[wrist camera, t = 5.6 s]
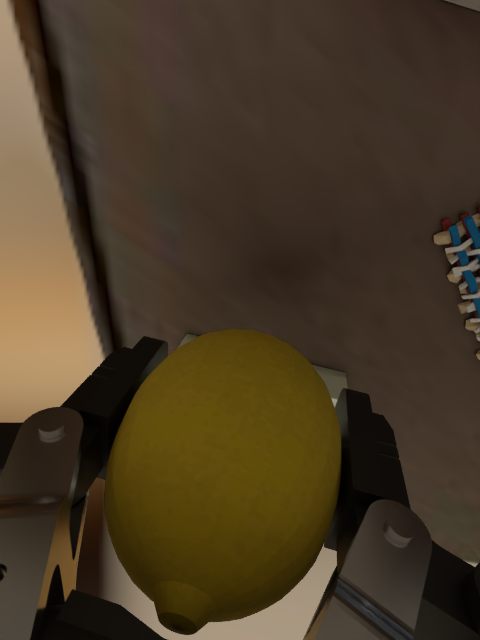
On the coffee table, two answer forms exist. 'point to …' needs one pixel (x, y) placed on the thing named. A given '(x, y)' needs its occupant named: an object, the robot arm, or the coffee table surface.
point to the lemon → (223, 478)
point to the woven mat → (464, 264)
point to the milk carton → (467, 3)
